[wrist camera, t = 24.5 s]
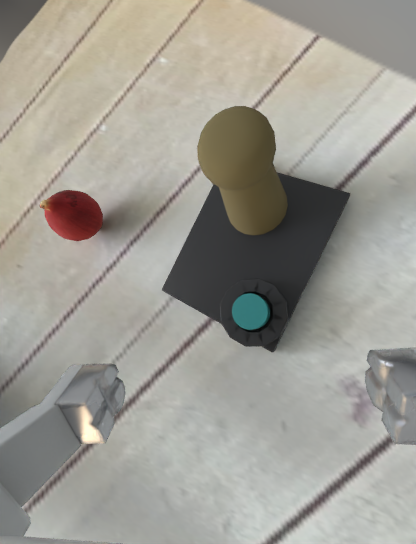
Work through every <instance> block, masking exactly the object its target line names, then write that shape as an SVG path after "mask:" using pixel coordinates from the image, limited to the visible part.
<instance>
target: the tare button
mask: <svg viewBox="0 0 416 544" xmlns="http://www.w3.org/2000/svg"><path fill="white" fill-rule="evenodd" d="M232 315H233V319H234V321H235V322H236V323H237V324H238V325H239V326H240V327H242V328H244V329H247V330H253V329H258V328H260V327H262V326H264V325H265V324H266V323H267V321H268V319H269V316H270V309H269V306H268V304H267V302H266V301H265V300H264V299H263V298H261V297H260V296H258V295H256V294H252V293H248V294H243V295H241V296H240V297H238V298H237V299H236V300H235V302H234V304H233V307H232Z"/></svg>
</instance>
